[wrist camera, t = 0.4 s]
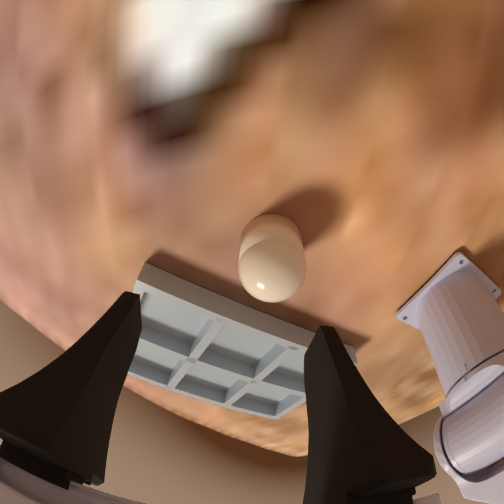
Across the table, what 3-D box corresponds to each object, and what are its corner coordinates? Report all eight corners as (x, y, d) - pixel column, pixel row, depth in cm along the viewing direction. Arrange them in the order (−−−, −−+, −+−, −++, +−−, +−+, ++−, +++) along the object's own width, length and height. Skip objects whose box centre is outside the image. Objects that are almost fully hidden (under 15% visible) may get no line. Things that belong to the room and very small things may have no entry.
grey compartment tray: (353, 347, 28) (357, 364, 26) (276, 405, 35) (276, 419, 33) (144, 261, 22) (137, 279, 21) (112, 350, 29) (107, 365, 28)
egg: (312, 231, 21) (324, 281, 17) (280, 272, 23) (284, 324, 19) (260, 203, 20) (259, 250, 15) (230, 249, 22) (223, 300, 18)
